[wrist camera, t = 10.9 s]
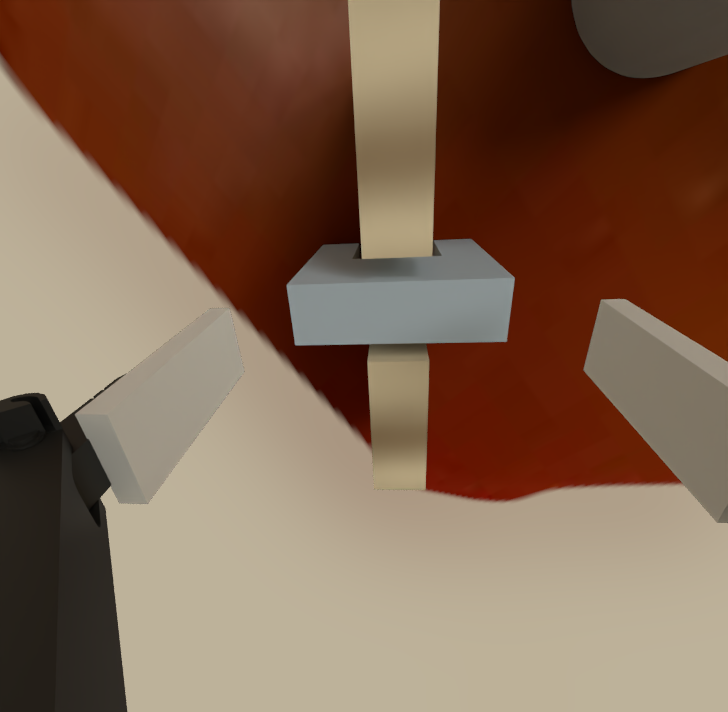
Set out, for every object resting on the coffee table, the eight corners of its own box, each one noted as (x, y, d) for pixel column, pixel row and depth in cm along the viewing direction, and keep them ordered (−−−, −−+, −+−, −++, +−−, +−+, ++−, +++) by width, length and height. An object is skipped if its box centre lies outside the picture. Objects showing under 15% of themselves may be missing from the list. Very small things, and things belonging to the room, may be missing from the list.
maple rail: (366, 69, 21) (347, -2, 12) (419, 65, 21) (440, -10, 12) (379, 397, 31) (374, 489, 22) (415, 396, 31) (425, 490, 22)
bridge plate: (323, 244, 26) (286, 285, 17) (471, 238, 25) (514, 278, 16) (327, 287, 27) (295, 345, 18) (467, 282, 26) (506, 341, 17)
